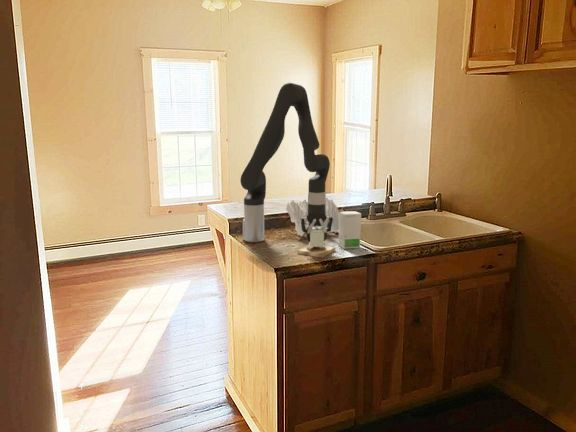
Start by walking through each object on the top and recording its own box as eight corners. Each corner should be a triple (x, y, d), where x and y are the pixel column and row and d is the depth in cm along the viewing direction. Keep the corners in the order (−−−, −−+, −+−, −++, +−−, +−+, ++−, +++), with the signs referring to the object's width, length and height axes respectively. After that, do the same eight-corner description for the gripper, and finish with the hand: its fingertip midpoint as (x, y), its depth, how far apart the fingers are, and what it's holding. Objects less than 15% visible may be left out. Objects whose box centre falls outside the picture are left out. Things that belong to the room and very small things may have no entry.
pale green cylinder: (307, 243, 218) (307, 226, 216) (321, 242, 219) (321, 225, 217) (311, 247, 212) (311, 229, 210) (324, 246, 213) (325, 228, 212)
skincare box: (343, 249, 220) (344, 214, 217) (337, 245, 227) (338, 211, 223) (360, 247, 223) (362, 213, 219) (354, 244, 229) (355, 210, 226)
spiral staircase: (340, 241, 249) (294, 244, 238) (326, 220, 261) (282, 222, 251) (351, 211, 238) (303, 213, 228) (335, 190, 251) (290, 191, 241)
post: (297, 253, 214) (297, 239, 213) (309, 246, 224) (310, 233, 223) (322, 257, 208) (323, 243, 207) (334, 250, 218) (335, 236, 217)
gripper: (330, 200, 217) (330, 238, 220) (298, 201, 214) (297, 239, 217) (335, 203, 209) (334, 242, 213) (301, 204, 207) (301, 244, 210)
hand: (316, 241), depth 215 cm, fingers closed on pale green cylinder, 5 cm apart
